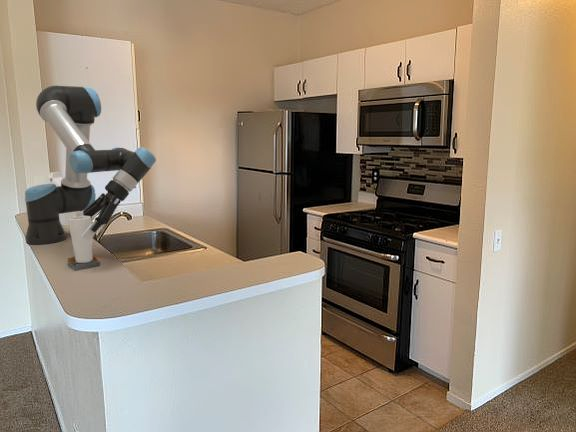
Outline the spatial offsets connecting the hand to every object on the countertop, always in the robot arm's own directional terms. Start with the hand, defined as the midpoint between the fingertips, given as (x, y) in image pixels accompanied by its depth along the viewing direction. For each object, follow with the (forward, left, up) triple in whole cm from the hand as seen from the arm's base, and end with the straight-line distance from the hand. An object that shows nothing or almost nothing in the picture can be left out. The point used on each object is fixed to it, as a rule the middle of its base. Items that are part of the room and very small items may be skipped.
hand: (79, 235), depth 152 cm
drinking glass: (0, +1, -9) cm, 9 cm away
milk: (-91, +14, -11) cm, 93 cm away
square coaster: (-1, +1, -11) cm, 11 cm away
